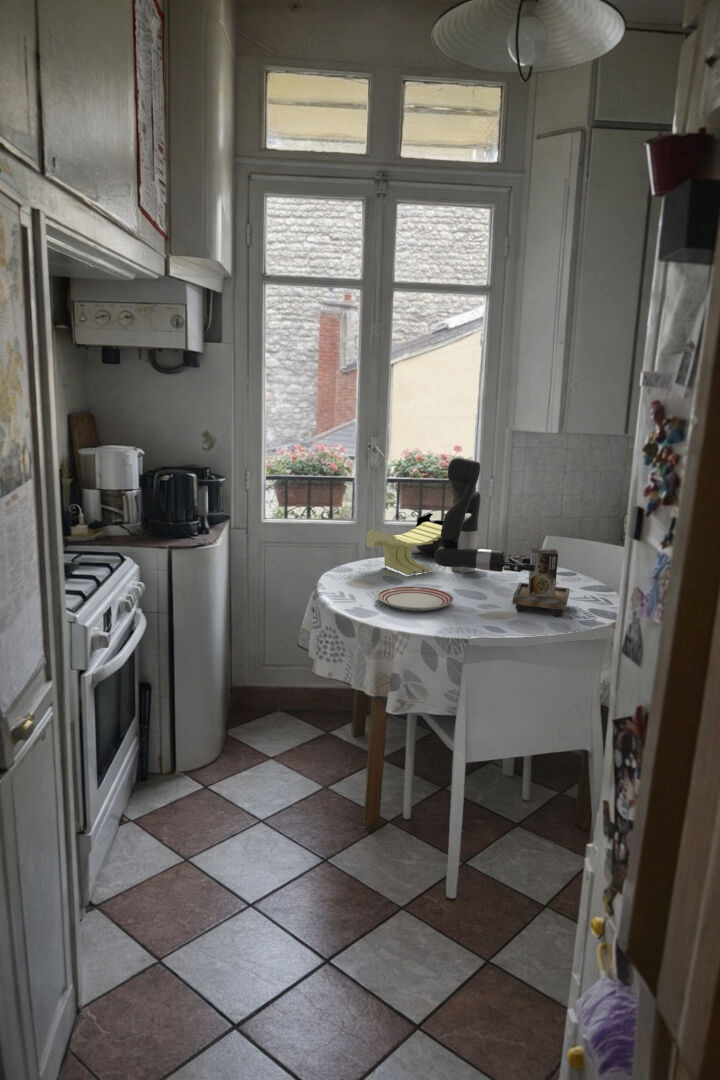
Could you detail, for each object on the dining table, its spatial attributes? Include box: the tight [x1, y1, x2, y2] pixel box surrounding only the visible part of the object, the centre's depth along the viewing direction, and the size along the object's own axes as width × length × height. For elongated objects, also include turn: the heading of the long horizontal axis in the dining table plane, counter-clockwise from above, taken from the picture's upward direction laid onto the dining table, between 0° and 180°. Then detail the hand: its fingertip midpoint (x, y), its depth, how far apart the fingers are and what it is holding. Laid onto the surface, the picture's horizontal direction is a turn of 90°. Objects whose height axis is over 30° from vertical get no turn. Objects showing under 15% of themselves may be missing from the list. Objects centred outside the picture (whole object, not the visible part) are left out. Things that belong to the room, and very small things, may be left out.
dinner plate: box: [376, 585, 455, 612], centre depth 285 cm, size 27×27×3 cm
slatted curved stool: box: [366, 521, 442, 575], centre depth 326 cm, size 30×16×18 cm, turn 127°
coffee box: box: [528, 548, 559, 597], centre depth 282 cm, size 9×6×16 cm
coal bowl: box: [413, 512, 444, 557], centre depth 351 cm, size 20×20×19 cm
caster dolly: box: [512, 582, 570, 617], centre depth 284 cm, size 18×18×6 cm
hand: (535, 565), depth 283 cm, fingers open, 8 cm apart
